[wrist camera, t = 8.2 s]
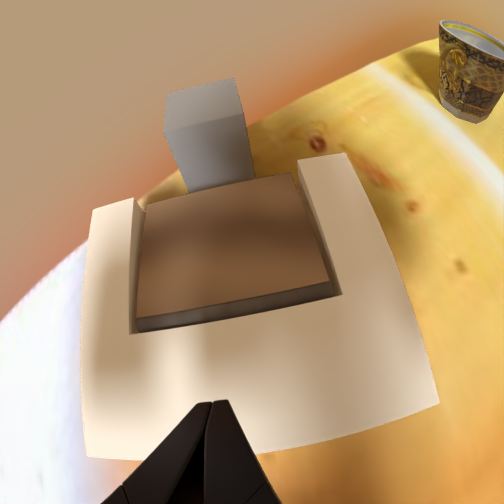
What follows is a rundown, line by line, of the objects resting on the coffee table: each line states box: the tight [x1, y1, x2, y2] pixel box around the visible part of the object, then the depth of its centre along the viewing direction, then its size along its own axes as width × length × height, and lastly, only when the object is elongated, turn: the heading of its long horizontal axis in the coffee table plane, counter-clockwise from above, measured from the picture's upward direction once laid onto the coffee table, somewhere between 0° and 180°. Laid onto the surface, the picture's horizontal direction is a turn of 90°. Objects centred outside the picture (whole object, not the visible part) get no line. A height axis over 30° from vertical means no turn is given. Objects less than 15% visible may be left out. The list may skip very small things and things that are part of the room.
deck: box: [80, 152, 439, 460], centre depth 17 cm, size 14×16×6 cm
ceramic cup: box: [438, 20, 504, 124], centre depth 24 cm, size 13×10×10 cm
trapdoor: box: [136, 172, 333, 333], centre depth 17 cm, size 9×9×1 cm
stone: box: [164, 78, 256, 193], centre depth 22 cm, size 5×5×8 cm
